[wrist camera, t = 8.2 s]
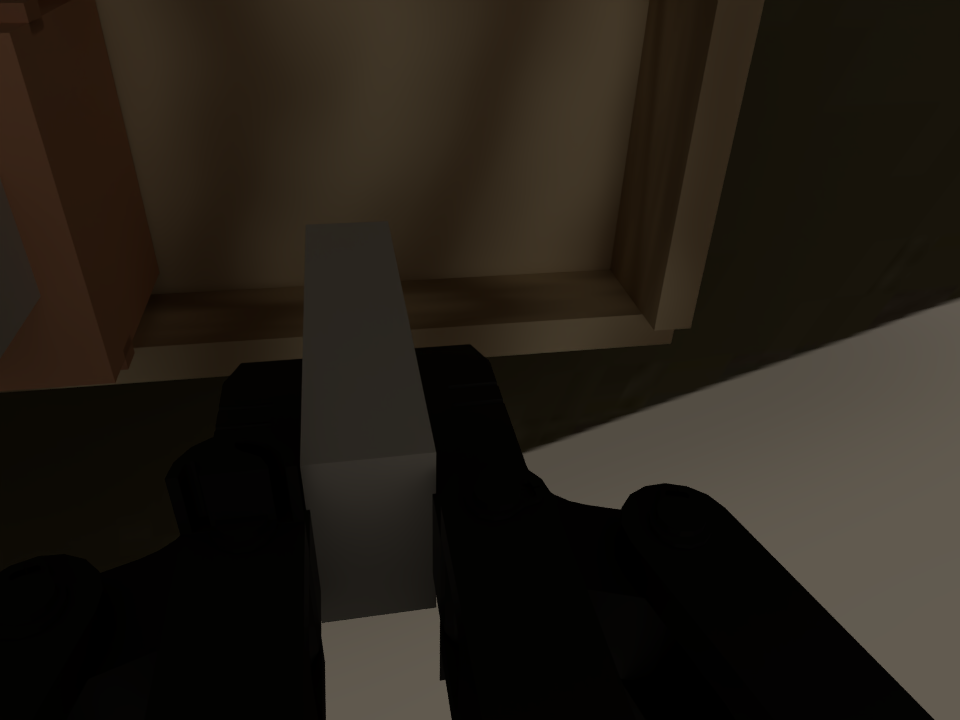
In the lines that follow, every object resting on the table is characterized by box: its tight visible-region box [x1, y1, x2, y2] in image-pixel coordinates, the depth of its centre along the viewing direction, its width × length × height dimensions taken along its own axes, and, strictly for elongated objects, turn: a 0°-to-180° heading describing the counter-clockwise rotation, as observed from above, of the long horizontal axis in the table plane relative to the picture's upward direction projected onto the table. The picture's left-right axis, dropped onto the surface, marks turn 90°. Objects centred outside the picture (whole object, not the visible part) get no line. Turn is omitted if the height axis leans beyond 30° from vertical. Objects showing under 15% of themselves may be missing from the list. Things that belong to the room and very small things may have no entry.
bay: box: [0, 0, 765, 393], centre depth 19 cm, size 33×12×5 cm, turn 89°
